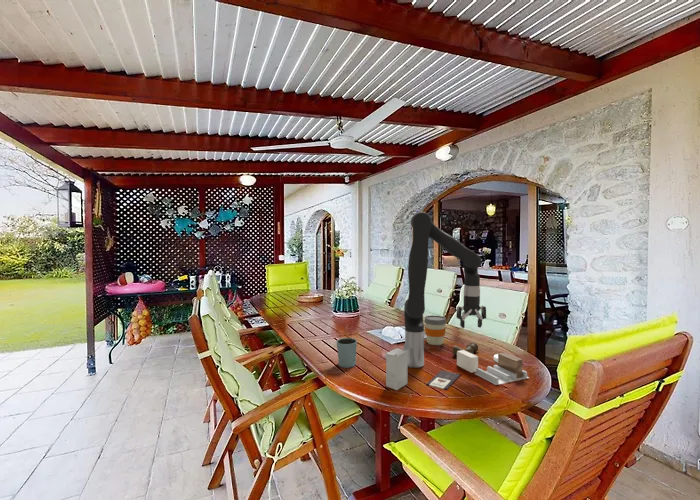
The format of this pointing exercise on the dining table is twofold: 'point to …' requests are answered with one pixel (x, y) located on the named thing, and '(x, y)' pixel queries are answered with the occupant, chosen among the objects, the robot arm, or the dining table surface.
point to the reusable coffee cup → (435, 329)
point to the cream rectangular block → (467, 361)
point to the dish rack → (499, 375)
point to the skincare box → (396, 368)
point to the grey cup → (347, 352)
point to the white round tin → (496, 358)
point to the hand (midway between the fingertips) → (471, 327)
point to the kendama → (470, 348)
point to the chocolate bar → (443, 379)
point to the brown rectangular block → (510, 363)
